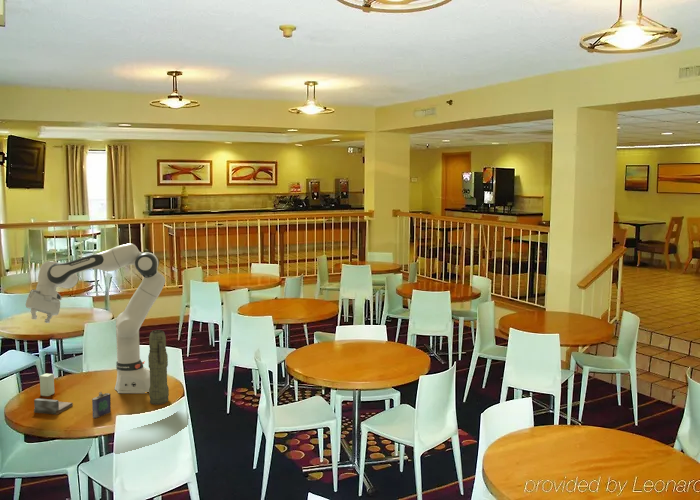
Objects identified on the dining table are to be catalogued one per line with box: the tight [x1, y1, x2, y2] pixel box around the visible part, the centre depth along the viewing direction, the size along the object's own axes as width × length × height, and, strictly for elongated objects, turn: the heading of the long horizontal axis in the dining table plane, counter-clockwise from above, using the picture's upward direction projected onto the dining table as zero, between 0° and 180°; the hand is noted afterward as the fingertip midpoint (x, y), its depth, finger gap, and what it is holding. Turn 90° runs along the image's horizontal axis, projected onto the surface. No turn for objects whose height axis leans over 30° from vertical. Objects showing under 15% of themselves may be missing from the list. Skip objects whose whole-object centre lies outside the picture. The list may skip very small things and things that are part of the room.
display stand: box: [33, 398, 74, 415], centre depth 274 cm, size 12×11×6 cm
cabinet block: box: [39, 373, 55, 397], centre depth 293 cm, size 4×4×10 cm
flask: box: [91, 391, 112, 419], centre depth 268 cm, size 9×3×11 cm, turn 151°
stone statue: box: [147, 329, 170, 405], centre depth 284 cm, size 9×12×35 cm
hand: (40, 320), depth 287 cm, fingers open, 8 cm apart
